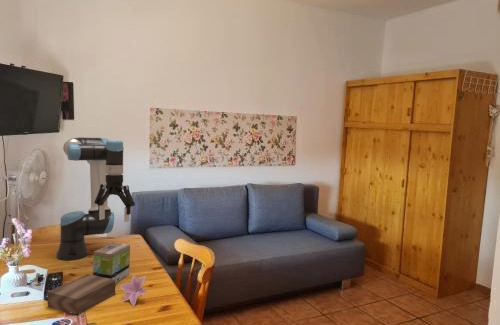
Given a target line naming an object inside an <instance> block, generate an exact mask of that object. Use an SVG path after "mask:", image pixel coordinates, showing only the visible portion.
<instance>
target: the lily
mask: <svg viewBox="0 0 500 325" xmlns="http://www.w3.org/2000/svg"><path fill="white" fill-rule="evenodd" d="M146 277H147V275H144V276H141V277H140V278H139V277H138V278H137V277H136V275H135V274H133V275H132V277H131V279H130V280H131V281H130V282H126V283H122V284H121V285H120V288H121V290H123V292H124V293H125V295H124V297H123V300H122V302H126V301H128V300H129V301H130V304H131V306H133V307H135V305H136V303H137V299H138V296H142V295H145V294H147V291H146V290H145V288H144V287H143V284H144V282H145V280H146Z"/></svg>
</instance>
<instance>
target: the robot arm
mask: <svg viewBox="0 0 500 325" xmlns="http://www.w3.org/2000/svg"><path fill="white" fill-rule="evenodd" d="M62 147H63V148H62V149H63V152H64V154H65V155H66V156H67V160H69V161H86V162H87V163H88V164H89V178H90V179H89V182H90V183H89V184H90V208H89V209H88V210H87V212H88V213H85V212H84V210H83V211H82V210H81V211H79V210H77V211H71V212H67V213H64V214H63V215H62V216H61V217H60V222H59V226H60V239H59V243H60V244H59V246H58V250H57V251H56V258H57V259H58V260H62V261H73V260H75V261H76V260H80V259H83V258H85V257H87V256H88V255H89V254H88V253H89V252H88V251H89V250H88V247H87V244H86V242H85V236H94V235H105V234H110V233H111V232H112V231H113V229H114V224H115V223H114V222H115V212H113V211H111V210H112V209H111V208H110V207H109V204H108V198H109V197H110V195H111V196H112V195H114V196H117V197H119V199H120V200H121V202H122V204H123V205H124V210H123V211H124V214H123V218H124V220H123V221H124V223H128V222H130V215H131V214H132V213H131V212H132V207H134V206H135V205H136V203H135V201H134V199H133V197H132V193H131V192H130V186H129V185H128V184H126V185H123V183H124V175H123V174H124V148H125V147H124V142H123V140H110V139H108V138H105V137H83V136H81V137H73V138H71V139H68V140H66V141H65V142H64V144H63V146H62Z"/></svg>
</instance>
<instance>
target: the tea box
mask: <svg viewBox="0 0 500 325" xmlns="http://www.w3.org/2000/svg"><path fill="white" fill-rule="evenodd" d="M130 258H131V245H130V244H124V243H123V244H122V243H117V242H112V243H109V244H107V245H105V246H103V247H101V248H99V249H97V250H94V251H93V259H92V260H93V262H92V263H93V264H92V275H95V276H99V277H103V278H108V279H112V280H115V284H116V283H118V282H120V281H121V280H122V279H125V277H127V276H129V275H130V265H131V264H130Z"/></svg>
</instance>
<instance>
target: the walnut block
mask: <svg viewBox="0 0 500 325" xmlns="http://www.w3.org/2000/svg"><path fill="white" fill-rule="evenodd" d="M114 295H116V283H115V280H112V279H108V278H103V277H99V276H95V275H93V274H90V273H87V274H84V275H82V276H80V277H78V278H76V279H74V280H71V281H69V282H66V283H65V284H63V285H60V286H57V287H55V288H53V289H51V290H49V291H47V308H50V309H54V310H58V311H61V312H65V313H68V312H72V313H75V314H78V315H80V314H82V313H84V312H86V311H88V310H89V309H91V308H93V307H94V306H96V305H98V304H100V303H102V302H103V301H106V300H107V299H109V298H111V297H112V296H114ZM81 312H82V313H81ZM72 313H71V314H72ZM79 313H80V314H79ZM75 314H74V315H75Z"/></svg>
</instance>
